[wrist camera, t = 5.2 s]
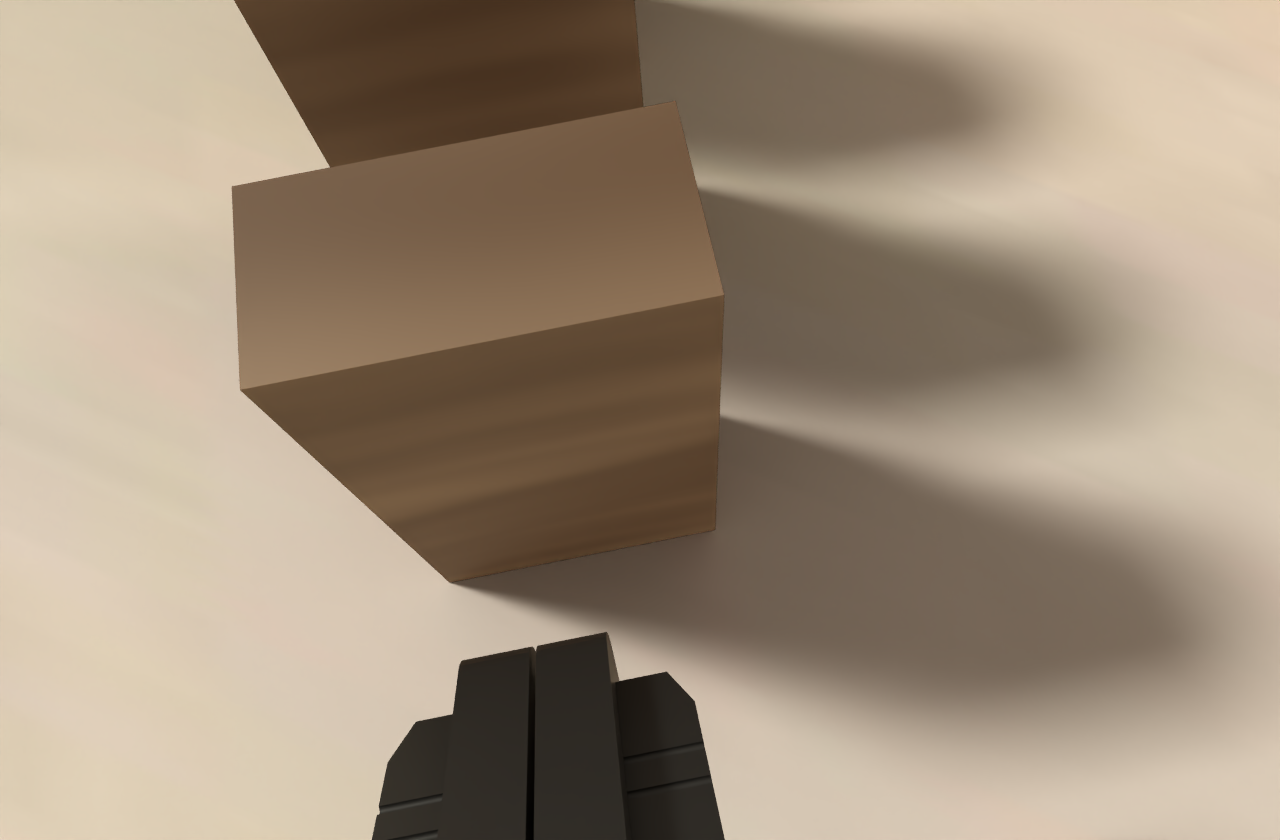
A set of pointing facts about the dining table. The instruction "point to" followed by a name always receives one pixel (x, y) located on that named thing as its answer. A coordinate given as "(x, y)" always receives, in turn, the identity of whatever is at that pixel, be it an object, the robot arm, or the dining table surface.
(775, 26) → the dining table surface
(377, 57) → the domino
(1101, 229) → the dining table surface
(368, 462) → the domino
